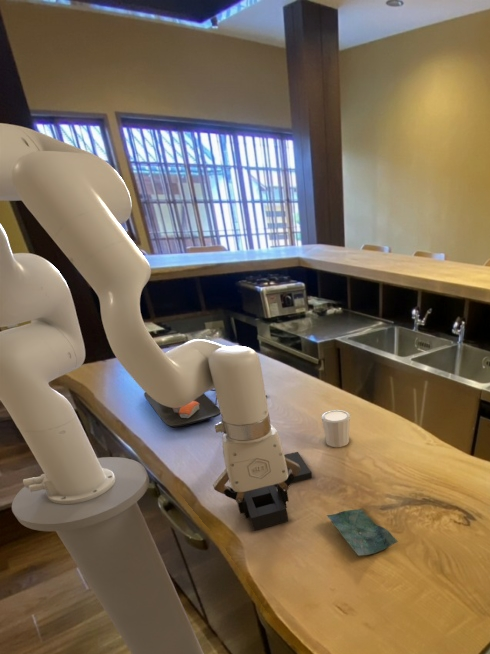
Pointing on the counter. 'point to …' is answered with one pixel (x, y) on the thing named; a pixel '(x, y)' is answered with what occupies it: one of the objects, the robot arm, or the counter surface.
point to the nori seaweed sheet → (362, 532)
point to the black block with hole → (265, 507)
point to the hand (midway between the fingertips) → (265, 508)
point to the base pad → (304, 471)
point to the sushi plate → (186, 411)
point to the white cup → (336, 427)
